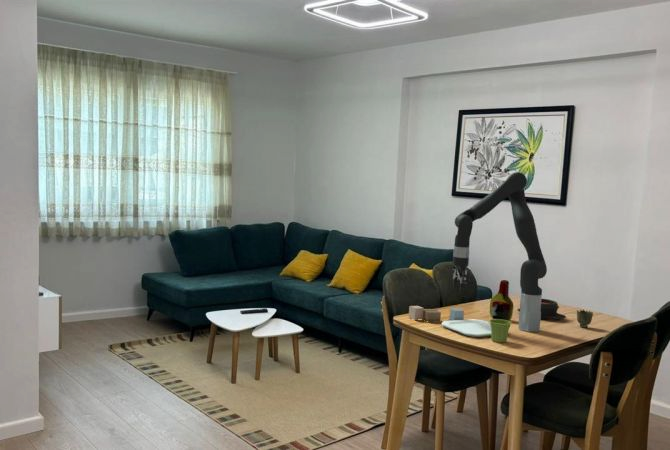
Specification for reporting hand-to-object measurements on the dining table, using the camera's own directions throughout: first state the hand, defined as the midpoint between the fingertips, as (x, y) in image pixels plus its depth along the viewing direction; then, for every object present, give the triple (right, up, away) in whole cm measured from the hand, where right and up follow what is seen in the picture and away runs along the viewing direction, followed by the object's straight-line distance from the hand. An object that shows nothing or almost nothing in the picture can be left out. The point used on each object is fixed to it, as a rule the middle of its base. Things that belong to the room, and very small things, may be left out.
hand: (458, 289), depth 294 cm
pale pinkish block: (-20, -15, +2) cm, 25 cm away
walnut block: (-13, -15, +1) cm, 21 cm away
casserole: (+48, -17, +23) cm, 55 cm away
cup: (+62, -19, +4) cm, 65 cm away
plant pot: (+11, -19, -31) cm, 38 cm away
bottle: (+23, -17, +12) cm, 31 cm away
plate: (+4, -18, -14) cm, 23 cm away
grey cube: (-1, -16, +1) cm, 16 cm away
